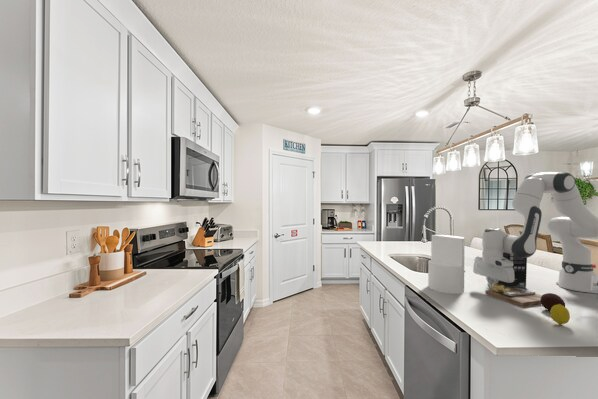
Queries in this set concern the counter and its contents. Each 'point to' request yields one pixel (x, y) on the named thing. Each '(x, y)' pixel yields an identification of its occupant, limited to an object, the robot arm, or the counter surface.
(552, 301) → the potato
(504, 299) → the brown square board
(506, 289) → the block
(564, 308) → the lemon
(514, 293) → the bar
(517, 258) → the graphics card box
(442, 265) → the cylinder
